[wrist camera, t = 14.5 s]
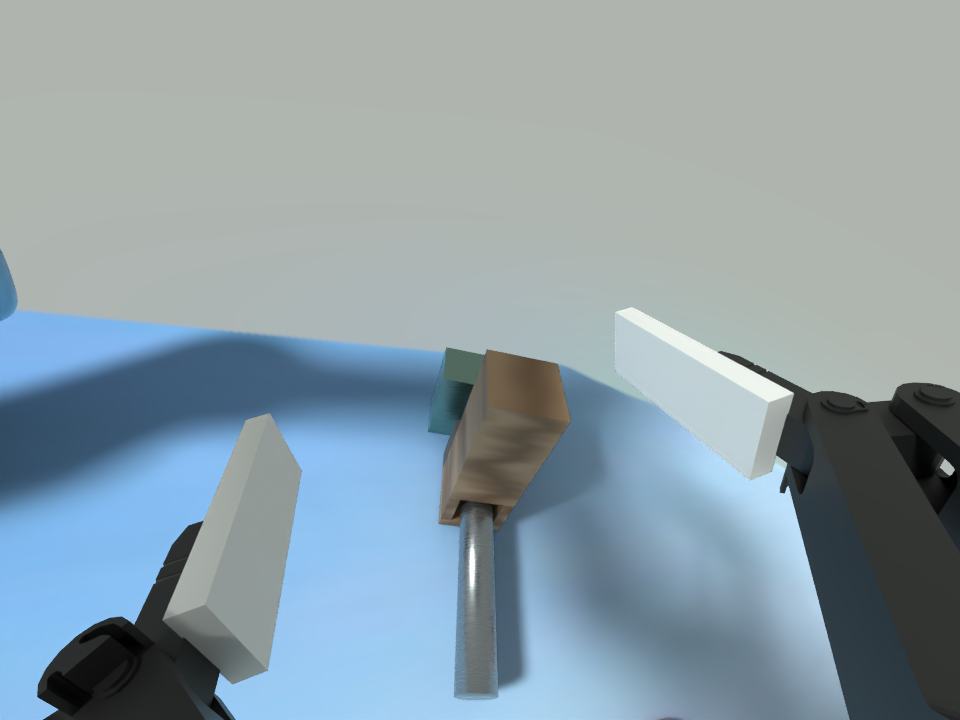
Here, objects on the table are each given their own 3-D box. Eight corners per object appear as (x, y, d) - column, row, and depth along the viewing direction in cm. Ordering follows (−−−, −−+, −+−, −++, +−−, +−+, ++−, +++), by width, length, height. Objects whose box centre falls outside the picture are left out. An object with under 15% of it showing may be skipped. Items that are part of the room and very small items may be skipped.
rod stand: (395, 701, 28) (415, 677, 22) (431, 400, 49) (446, 347, 44) (528, 706, 30) (578, 684, 24) (506, 413, 51) (530, 364, 45)
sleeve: (438, 523, 37) (488, 407, 26) (442, 469, 42) (486, 349, 31) (498, 530, 39) (570, 421, 27) (496, 476, 43) (557, 363, 32)
